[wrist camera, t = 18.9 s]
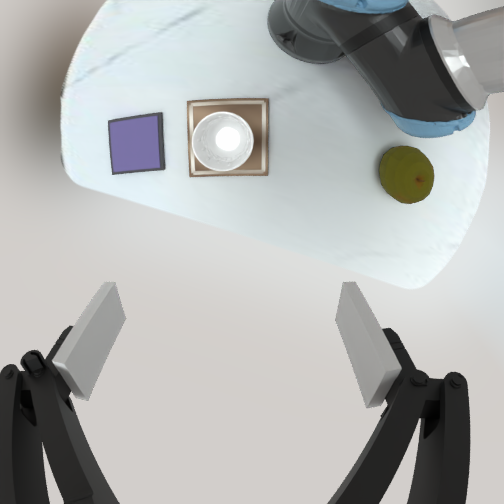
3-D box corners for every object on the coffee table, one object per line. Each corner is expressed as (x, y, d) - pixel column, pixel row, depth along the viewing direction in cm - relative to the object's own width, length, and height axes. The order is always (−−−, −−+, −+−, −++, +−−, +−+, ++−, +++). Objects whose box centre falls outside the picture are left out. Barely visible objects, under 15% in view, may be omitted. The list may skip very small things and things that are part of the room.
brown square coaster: (188, 101, 40) (186, 100, 39) (267, 98, 41) (268, 98, 40) (190, 175, 46) (189, 177, 45) (267, 174, 46) (267, 175, 45)
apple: (364, 149, 44) (392, 159, 35) (407, 136, 43) (441, 144, 33) (377, 200, 49) (405, 221, 39) (417, 185, 47) (450, 202, 37)
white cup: (232, 104, 40) (228, 99, 31) (262, 142, 43) (266, 147, 34) (193, 133, 42) (179, 137, 33) (223, 170, 45) (216, 183, 36)
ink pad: (110, 120, 41) (107, 120, 40) (162, 112, 41) (160, 112, 40) (114, 173, 45) (111, 175, 44) (165, 169, 46) (163, 170, 44)
